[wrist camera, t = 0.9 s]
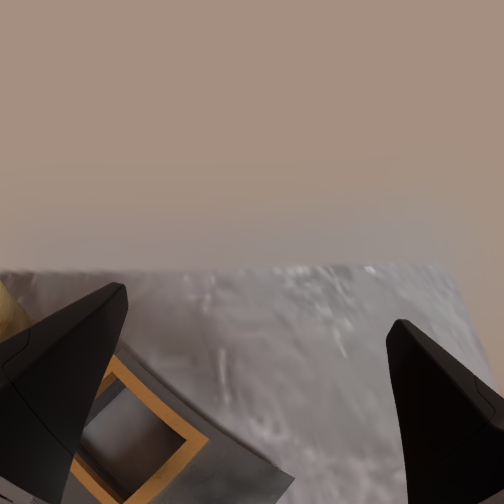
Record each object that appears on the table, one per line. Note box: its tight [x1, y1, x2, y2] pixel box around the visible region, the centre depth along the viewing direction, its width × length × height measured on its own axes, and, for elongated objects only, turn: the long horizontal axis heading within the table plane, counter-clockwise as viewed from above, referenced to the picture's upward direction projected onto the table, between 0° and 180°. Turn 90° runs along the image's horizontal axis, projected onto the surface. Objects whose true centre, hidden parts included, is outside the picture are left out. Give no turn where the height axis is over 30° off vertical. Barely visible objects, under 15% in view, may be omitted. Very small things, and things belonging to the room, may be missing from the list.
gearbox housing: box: [33, 348, 295, 504], centre depth 12 cm, size 16×16×6 cm
